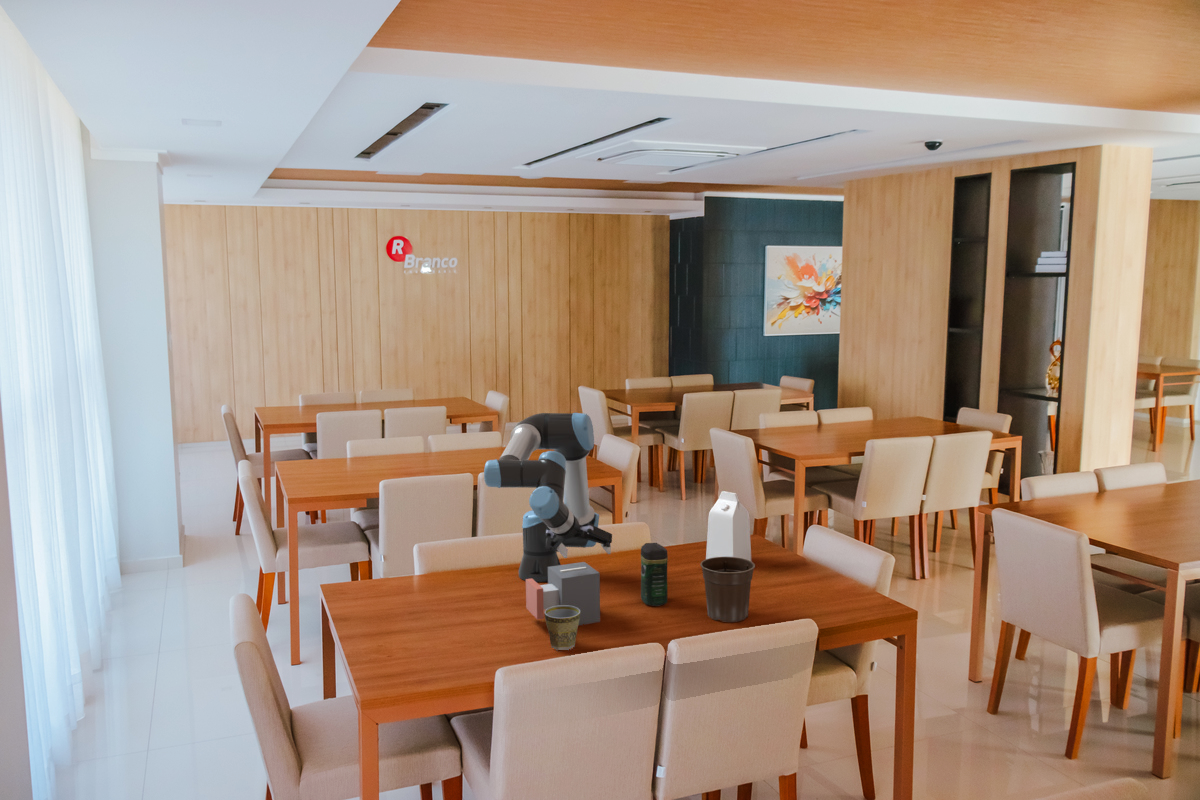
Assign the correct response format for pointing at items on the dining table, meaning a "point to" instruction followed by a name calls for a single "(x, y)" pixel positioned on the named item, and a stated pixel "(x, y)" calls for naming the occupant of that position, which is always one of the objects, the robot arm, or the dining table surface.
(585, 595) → the press housing
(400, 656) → the dining table surface
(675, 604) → the dining table surface
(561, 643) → the ceramic cup
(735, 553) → the milk
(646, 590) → the coffee jar
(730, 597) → the plant pot
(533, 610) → the pink piece
